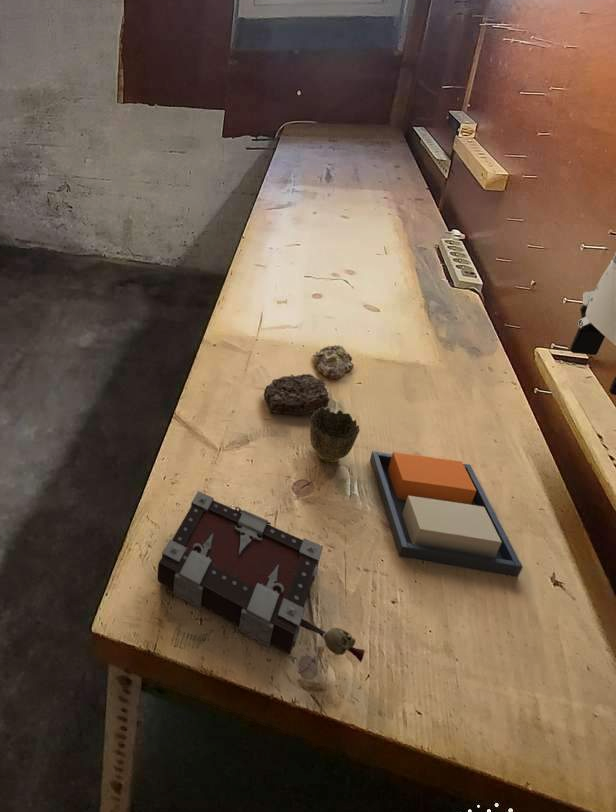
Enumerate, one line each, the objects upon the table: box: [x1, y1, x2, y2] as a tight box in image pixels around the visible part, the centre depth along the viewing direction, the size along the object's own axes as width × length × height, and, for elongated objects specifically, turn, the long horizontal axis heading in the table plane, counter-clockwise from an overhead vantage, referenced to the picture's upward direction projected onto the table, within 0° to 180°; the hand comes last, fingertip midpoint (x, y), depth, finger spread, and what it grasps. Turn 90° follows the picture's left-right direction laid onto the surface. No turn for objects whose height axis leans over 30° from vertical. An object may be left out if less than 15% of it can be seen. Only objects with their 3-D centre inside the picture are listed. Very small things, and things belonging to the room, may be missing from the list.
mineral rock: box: [312, 344, 355, 380], centre depth 119 cm, size 11×4×8 cm
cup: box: [309, 407, 360, 464], centre depth 95 cm, size 8×7×8 cm
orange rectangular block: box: [388, 451, 476, 505], centre depth 88 cm, size 10×6×4 cm, turn 76°
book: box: [157, 490, 365, 663], centre depth 74 cm, size 15×25×5 cm, turn 56°
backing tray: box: [369, 451, 523, 578], centre depth 85 cm, size 15×19×3 cm
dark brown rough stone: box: [263, 373, 331, 416], centre depth 108 cm, size 12×10×5 cm
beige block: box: [402, 495, 502, 558], centre depth 80 cm, size 10×6×4 cm, turn 76°
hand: (601, 372), depth 78 cm, fingers open, 9 cm apart
